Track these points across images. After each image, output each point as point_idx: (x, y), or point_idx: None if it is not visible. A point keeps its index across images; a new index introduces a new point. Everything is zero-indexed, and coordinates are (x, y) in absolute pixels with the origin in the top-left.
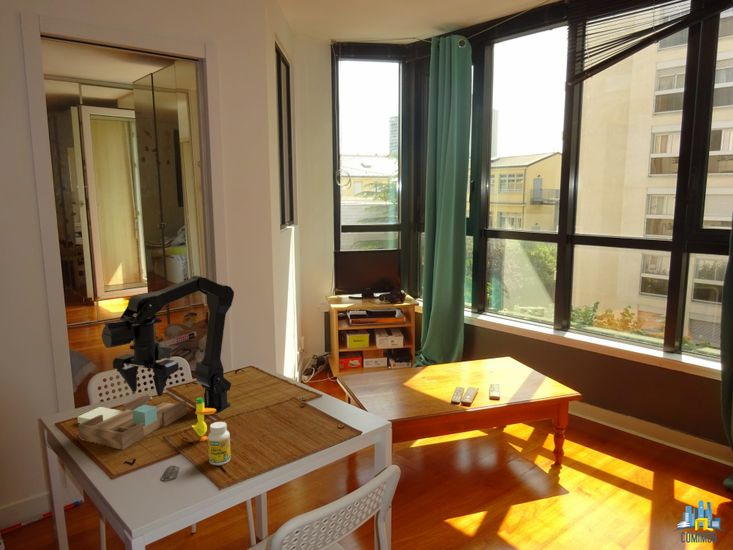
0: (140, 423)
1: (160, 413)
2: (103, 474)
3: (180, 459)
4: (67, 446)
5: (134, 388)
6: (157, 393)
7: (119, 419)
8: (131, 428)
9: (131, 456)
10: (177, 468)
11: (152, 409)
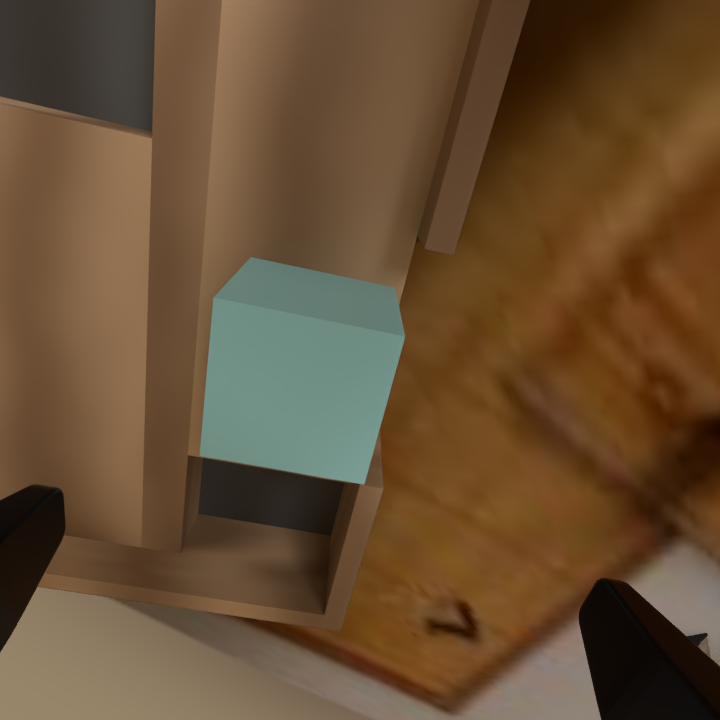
0: (363, 493)
1: (342, 128)
2: (397, 698)
3: (694, 580)
4: None
5: (26, 567)
6: (602, 691)
7: (61, 333)
8: (348, 565)
9: (430, 588)
10: (704, 648)
11: (389, 390)
